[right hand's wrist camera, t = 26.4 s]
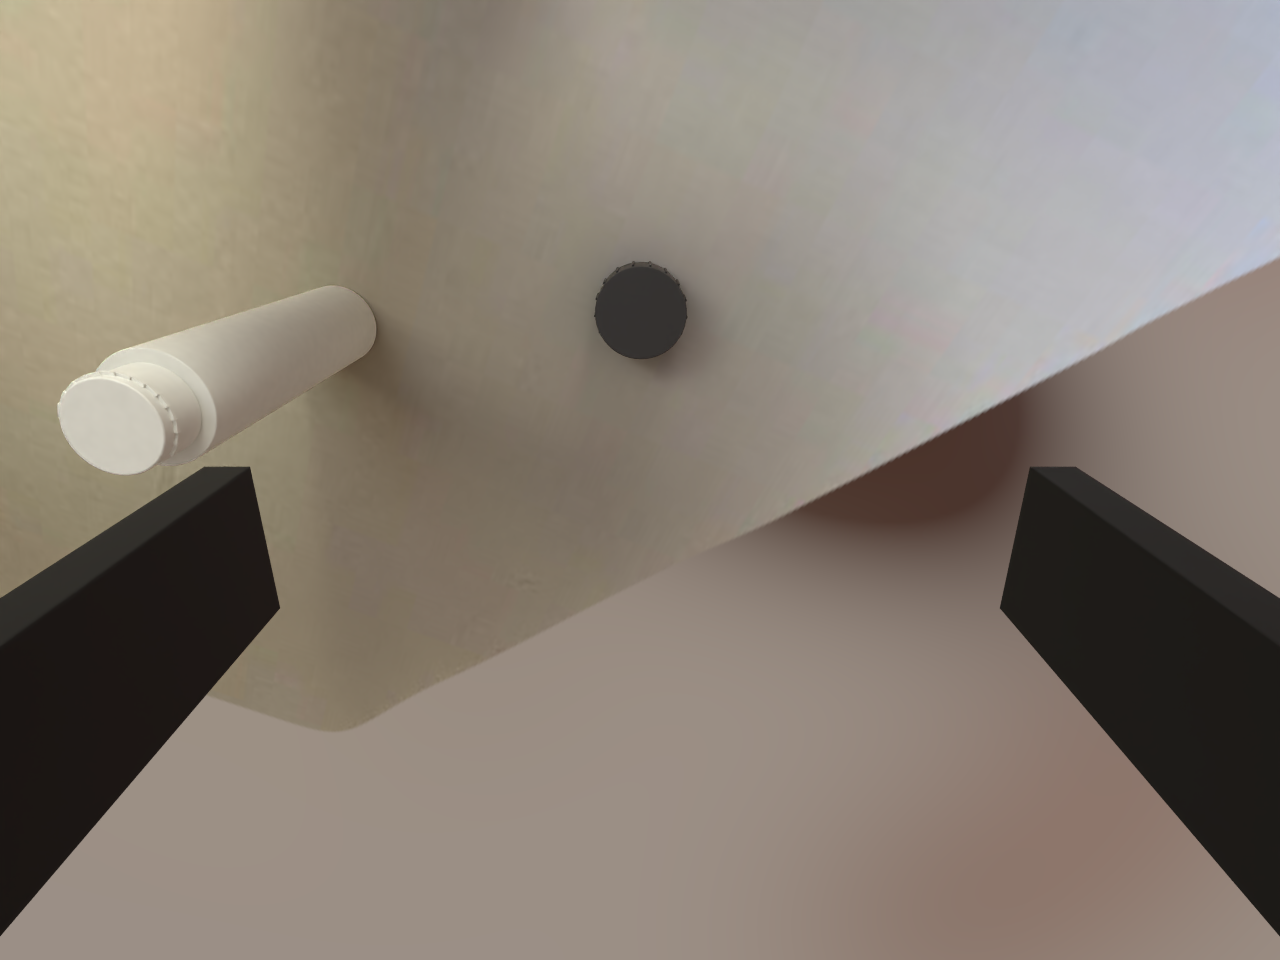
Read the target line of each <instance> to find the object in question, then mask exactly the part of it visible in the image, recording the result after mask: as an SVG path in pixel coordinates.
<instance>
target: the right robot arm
mask: <svg viewBox="0 0 1280 960" xmlns="http://www.w3.org/2000/svg"><path fill="white" fill-rule="evenodd" d="M279 609H280V605H279V601H278V596H277V591H276V587H275V582H274V577H273V573H272V568H271V563H270V559H269V554H268V549H267V544H266V540H265V535H264V530H263V526H262V521H261V516H260V512H259V507H258V502H257V498H256V493H255V488H254V483H253V479H252V474H251V469H250V467H203V468H202V469H200V470H199V471H197V472H196V473H194V474H192V475H191V476H189V477H188V478H186V479H185V480H183V481H182V482H180V483H179V484H177V485H175V486H174V487H172V488H171V489H169V490H168V491H166V492H165V493H163V494H161V495H160V496H158V497H157V498H155V499H154V500H152V501H151V502H149V503H147V504H146V505H144V506H143V507H141V508H140V509H138V510H137V511H135V512H134V513H132V514H130V515H129V516H127V517H126V518H124V519H123V520H121V521H120V522H118V523H116V524H115V525H113V526H112V527H110V528H109V529H107V530H106V531H104V532H102V533H101V534H99V535H98V536H96V537H95V538H93V539H92V540H90V541H89V542H87V543H85V544H84V545H82V546H81V547H79V548H78V549H76V550H75V551H73V552H71V553H70V554H68V555H67V556H65V557H64V558H62V559H61V560H59V561H57V562H56V563H54V564H53V565H51V566H50V567H48V568H47V569H45V570H44V571H42V572H40V573H39V574H37V575H36V576H34V577H33V578H31V579H30V580H28V581H26V582H25V583H23V584H22V585H20V586H19V587H17V588H16V589H14V590H12V591H11V592H9V593H8V594H6V595H5V596H3V597H2V598H0V936H1V935H2V934H3V932H4V931H5V930H6V929H7V928H8V927H9V925H10V924H11V923H12V922H13V921H14V919H15V918H16V917H17V916H18V915H19V914H20V912H21V911H22V910H23V909H24V908H25V907H26V905H27V904H28V903H29V902H30V901H31V900H32V898H33V897H34V896H35V895H36V894H37V893H38V891H39V890H40V889H41V888H42V887H43V885H44V884H45V883H46V882H47V881H48V880H49V878H50V877H51V876H52V875H53V874H54V873H55V871H56V870H57V869H58V868H59V867H60V865H61V864H62V863H63V862H64V861H65V860H66V859H67V857H68V856H69V855H70V854H71V853H72V851H73V850H74V849H75V848H76V847H77V846H78V844H79V843H80V842H81V841H82V840H83V839H84V837H85V836H86V835H87V834H88V833H89V831H90V830H91V829H92V828H93V827H94V826H95V825H96V823H97V822H98V821H99V820H100V819H101V817H102V816H103V815H104V814H105V813H106V812H107V810H108V809H109V808H110V807H111V806H112V805H113V803H114V802H115V801H116V800H117V799H118V798H119V796H120V795H121V794H122V793H123V792H124V790H125V789H126V788H127V787H128V786H129V785H130V783H131V782H132V781H133V780H134V779H135V778H136V776H137V775H138V774H139V773H140V772H141V771H142V769H143V768H144V767H145V766H146V765H147V764H148V762H149V761H150V760H151V759H152V758H153V756H154V755H155V754H156V753H157V752H158V751H159V749H160V748H161V747H162V746H163V745H164V744H165V742H166V741H167V740H168V739H169V738H170V737H171V735H172V734H173V733H174V732H175V731H176V730H177V728H178V727H179V726H180V725H181V724H182V723H183V721H184V720H185V719H186V718H187V717H188V715H189V714H190V713H191V712H192V711H193V710H194V708H195V707H196V706H197V705H198V704H199V703H200V701H201V700H202V699H203V698H204V697H205V696H206V694H207V693H208V692H209V691H210V690H211V689H212V687H213V686H214V685H215V684H216V683H217V681H218V680H219V679H220V678H221V677H222V676H223V674H224V673H225V672H226V671H227V670H228V669H229V667H230V666H231V665H232V664H233V663H234V662H235V660H236V659H237V658H238V657H239V656H240V655H241V653H242V652H243V651H244V650H245V649H246V647H247V646H248V645H249V644H250V643H251V642H252V640H253V639H254V638H255V637H256V636H257V635H258V633H259V632H260V631H261V630H262V629H263V628H264V626H265V625H266V624H267V623H268V622H269V621H270V619H271V618H272V617H273V616H274V615H275V613H276V612H277V611H278V610H279ZM1000 609H1001V610H1002V611H1003V612H1004V613H1005V615H1006V616H1007V617H1008V618H1009V619H1010V621H1011V622H1012V623H1013V624H1014V625H1015V626H1016V628H1017V629H1018V630H1019V631H1020V632H1021V633H1022V635H1023V636H1024V637H1025V638H1026V639H1027V640H1028V642H1029V643H1030V644H1031V645H1032V646H1033V647H1034V649H1035V650H1036V651H1037V652H1038V653H1039V654H1040V656H1041V657H1042V658H1043V659H1044V660H1045V662H1046V663H1047V664H1048V665H1049V666H1050V667H1051V669H1052V670H1053V671H1054V672H1055V673H1056V674H1057V676H1058V677H1059V678H1060V679H1061V680H1062V681H1063V683H1064V684H1065V685H1066V686H1067V687H1068V688H1069V690H1070V691H1071V692H1072V693H1073V694H1074V696H1075V697H1076V698H1077V699H1078V700H1079V701H1080V703H1081V704H1082V705H1083V706H1084V707H1085V708H1086V710H1087V711H1088V712H1089V713H1090V714H1091V715H1092V717H1093V718H1094V719H1095V720H1096V721H1097V722H1098V724H1099V725H1100V726H1101V727H1102V728H1103V730H1104V731H1105V732H1106V733H1107V734H1108V735H1109V737H1110V738H1111V739H1112V740H1113V741H1114V742H1115V744H1116V745H1117V746H1118V747H1119V748H1120V749H1121V751H1122V752H1123V753H1124V754H1125V755H1126V756H1127V758H1128V759H1129V760H1130V761H1131V762H1132V764H1133V765H1134V766H1135V767H1136V768H1137V769H1138V771H1139V772H1140V773H1141V774H1142V775H1143V776H1144V778H1145V779H1146V780H1147V781H1148V782H1149V783H1150V785H1151V786H1152V787H1153V788H1154V789H1155V791H1156V792H1157V793H1158V794H1159V795H1160V796H1161V798H1162V799H1163V800H1164V801H1165V802H1166V803H1167V805H1168V806H1169V807H1170V808H1171V809H1172V810H1173V812H1174V813H1175V814H1176V815H1177V816H1178V817H1179V819H1180V820H1181V821H1182V822H1183V823H1184V825H1185V826H1186V827H1187V828H1188V829H1189V830H1190V832H1191V833H1192V834H1193V835H1194V836H1195V837H1196V839H1197V840H1198V841H1199V842H1200V843H1201V844H1202V846H1203V847H1204V848H1205V849H1206V850H1207V851H1208V853H1209V854H1210V855H1211V856H1212V857H1213V859H1214V860H1215V861H1216V862H1217V863H1218V864H1219V866H1220V867H1221V868H1222V869H1223V870H1224V871H1225V873H1226V874H1227V875H1228V876H1229V877H1230V878H1231V880H1232V881H1233V882H1234V883H1235V884H1236V885H1237V887H1238V888H1239V889H1240V890H1241V891H1242V893H1243V894H1244V895H1245V896H1246V897H1247V898H1248V900H1249V901H1250V902H1251V903H1252V904H1253V905H1254V907H1255V908H1256V909H1257V910H1258V911H1259V912H1260V914H1261V915H1262V916H1263V917H1264V918H1265V919H1266V921H1267V922H1268V923H1269V924H1270V925H1271V926H1272V928H1273V929H1274V930H1275V931H1276V932H1277V934H1278V935H1279V936H1280V598H1278V597H1277V596H1275V595H1274V594H1272V593H1271V592H1269V591H1267V590H1266V589H1264V588H1263V587H1261V586H1260V585H1258V584H1257V583H1255V582H1254V581H1252V580H1250V579H1249V578H1247V577H1246V576H1244V575H1243V574H1241V573H1240V572H1238V571H1236V570H1235V569H1233V568H1232V567H1230V566H1229V565H1227V564H1226V563H1224V562H1222V561H1221V560H1219V559H1218V558H1216V557H1215V556H1213V555H1212V554H1210V553H1209V552H1207V551H1205V550H1204V549H1202V548H1201V547H1199V546H1198V545H1196V544H1195V543H1193V542H1191V541H1190V540H1188V539H1187V538H1185V537H1184V536H1182V535H1181V534H1179V533H1178V532H1176V531H1174V530H1173V529H1171V528H1170V527H1168V526H1167V525H1165V524H1164V523H1162V522H1160V521H1159V520H1157V519H1156V518H1154V517H1153V516H1151V515H1150V514H1148V513H1146V512H1145V511H1143V510H1142V509H1140V508H1139V507H1137V506H1136V505H1134V504H1133V503H1131V502H1129V501H1128V500H1126V499H1125V498H1123V497H1122V496H1120V495H1119V494H1117V493H1115V492H1114V491H1112V490H1111V489H1109V488H1108V487H1106V486H1105V485H1103V484H1101V483H1100V482H1098V481H1097V480H1095V479H1094V478H1092V477H1091V476H1089V475H1088V474H1086V473H1084V472H1083V471H1081V470H1080V469H1078V468H1077V467H1030V470H1029V474H1028V479H1027V484H1026V488H1025V493H1024V498H1023V502H1022V507H1021V512H1020V516H1019V521H1018V526H1017V530H1016V535H1015V540H1014V544H1013V549H1012V554H1011V559H1010V563H1009V568H1008V573H1007V577H1006V582H1005V587H1004V591H1003V596H1002V601H1001V605H1000Z"/></svg>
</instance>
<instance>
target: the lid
mask: <svg viewBox="0 0 1280 960" xmlns="http://www.w3.org/2000/svg"><path fill="white" fill-rule="evenodd" d="M679 285H680V284H679V282H678V280H675V279H674V277H673V276H672V275H671V274H670V273H669V272H668V271H667V269H666V268H664V269H663V268H661V267H660V266H657V265H655V264H651V262H649V263H646V262H635V263H634V261H632V263H630V264H627V265H624V266H622V267H620V268H619V267H617V269H616V271H614V272H613V273H612V274H611V275H610V276H609V277H608V278H607V279H606V278H605V280H604V282H603V286H602V288H601V290H600V293H598V294H597V297H596V300H597V302H596V307H595V314H594V317H596V323H597V327H598V330H599V333H600V334H601V336H602V338H603V339H604V341H605V342H606V343H607V344H608V345H609V346H610V347H611V348H612V349H613V350H614V351H616V352H617V353H619V354H621V355H623V356H626V357H629V358H634V359H648V358H653V357H656V356H658V355H661V354H663V353H664V352H666V351H667V350H669V349H670V348H671V347H672V346H673V345H674V344H675V343H676V342H677V340H678V339H679V338H680V336H681V335H682V332H683V329H684V327H685V323H686V319H687V310H686V303H685V301H686V298H685V295H683V293H682V291H681V289H680V286H679Z"/></svg>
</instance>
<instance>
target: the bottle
mask: <svg viewBox="0 0 1280 960" xmlns="http://www.w3.org/2000/svg"><path fill="white" fill-rule="evenodd" d="M375 338H376V321H375V317H374V315H373V312H372V310H371V308H370V307H369V305H368V304H367V303H366V301H365V300H364V299H363V298H362V297H361V296H359V295H358V294H357V293H355V292H354V291H352V290H350V289H348V288H345V287H341V286H336V285H328V286H323V287H319V288H316V289H313V290H310V291H307V292H303V293H300V294H297V295H294V296H291V297H288V298H284V299H281V300H278V301H275V302H272V303H269V304H265V305H262V306H259V307H256V308H253V309H250V310H247V311H243V312H240V313H237V314H234V315H231V316H228V317H224V318H221V319H218V320H215V321H212V322H209V323H205V324H202V325H199V326H196V327H193V328H190V329H186V330H183V331H180V332H177V333H174V334H171V335H167V336H164V337H161V338H158V339H155V340H152V341H148V342H145V343H142V344H139V345H136V346H133V347H129V348H126V349H123V350H120V351H118V352H116V353H113V354H112V355H110V356H109V357H107V358H106V359H105V360H104V361H103V362H102V363H101V364H100V366H99V367H98V368H97V370H96V372H93V373H88V374H85V375H83V376H81V377H80V378H78V379H76V380H74V381H73V382H71V383H70V385H69V386H68V387H67V388H66V390H65V391H63V393H62V396H61V399H60V402H59V403H58V417H59V420H60V425H61V428H62V431H63V434H64V436H65V438H66V440H67V441H68V443H69V444H70V446H71V447H72V448H73V450H74V451H75V452H76V453H77V454H78V455H79V456H80V457H81V458H82V459H84V460H85V461H86V462H88V463H89V464H91V465H92V466H94V467H96V468H98V469H100V470H102V471H105V472H108V473H112V474H117V475H136V474H140V473H143V472H145V471H148V470H149V469H151V468H153V467H155V466H156V465H164V466H175V465H182V464H185V463H189V462H191V461H193V460H195V459H197V458H199V457H200V456H202V455H203V454H205V453H207V452H208V451H210V450H212V449H213V448H215V447H216V446H218V445H220V444H221V443H223V442H225V441H226V440H228V439H229V438H231V437H233V436H234V435H236V434H238V433H239V432H241V431H242V430H244V429H246V428H247V427H249V426H251V425H252V424H254V423H255V422H257V421H259V420H260V419H262V418H264V417H265V416H267V415H269V414H270V413H272V412H273V411H275V410H277V409H278V408H280V407H282V406H283V405H285V404H286V403H288V402H290V401H291V400H293V399H295V398H296V397H298V396H299V395H301V394H303V393H304V392H306V391H308V390H309V389H311V388H312V387H314V386H316V385H317V384H319V383H321V382H322V381H324V380H325V379H327V378H329V377H330V376H332V375H334V374H335V373H337V372H338V371H340V370H342V369H343V368H345V367H347V366H348V365H350V364H351V363H353V362H355V361H356V360H358V359H360V358H361V357H363V356H364V355H365V354H367V353H368V351H369V350H370V349H371V347H372V346H373V344H374V341H375Z"/></svg>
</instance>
